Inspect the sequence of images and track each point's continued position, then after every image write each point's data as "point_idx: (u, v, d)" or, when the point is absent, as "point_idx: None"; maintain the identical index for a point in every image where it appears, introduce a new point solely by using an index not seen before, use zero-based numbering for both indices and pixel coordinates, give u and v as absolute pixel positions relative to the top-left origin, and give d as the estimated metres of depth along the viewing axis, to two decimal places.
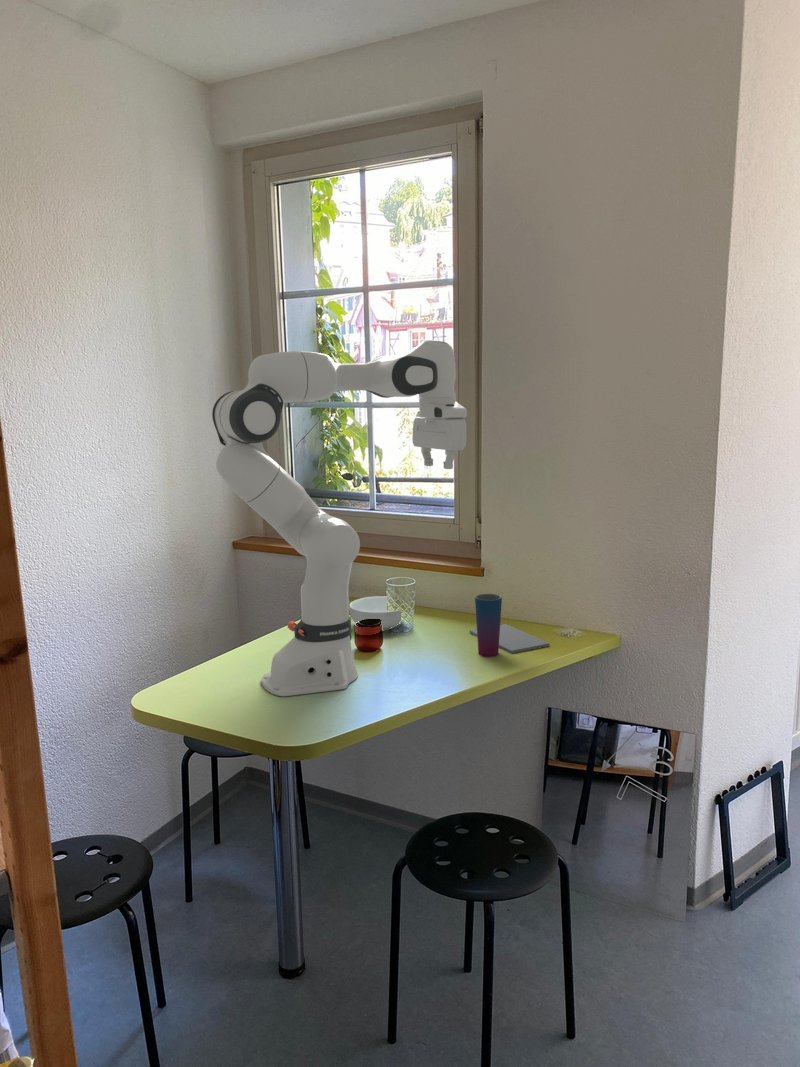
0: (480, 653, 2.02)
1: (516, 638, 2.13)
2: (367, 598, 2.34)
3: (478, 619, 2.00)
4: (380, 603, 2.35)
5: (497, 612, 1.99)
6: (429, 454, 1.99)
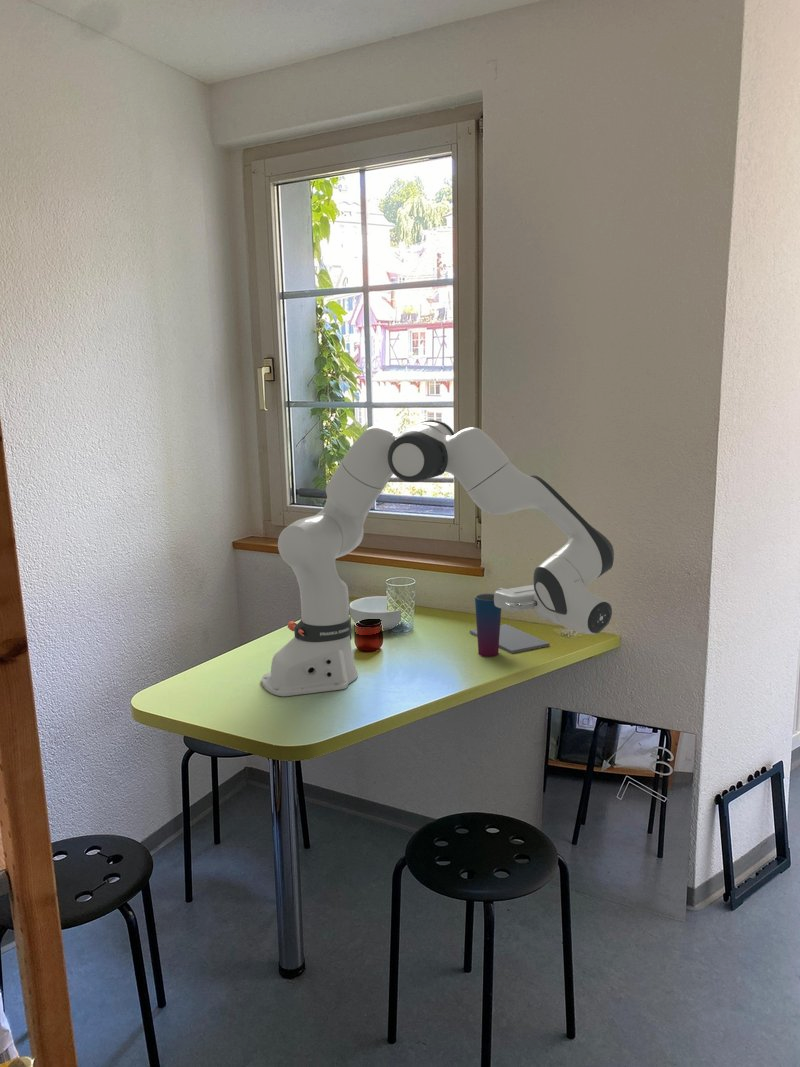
0: (480, 653, 2.02)
1: (516, 638, 2.13)
2: (367, 598, 2.34)
3: (478, 619, 2.00)
4: (380, 603, 2.35)
5: (497, 612, 1.99)
6: None
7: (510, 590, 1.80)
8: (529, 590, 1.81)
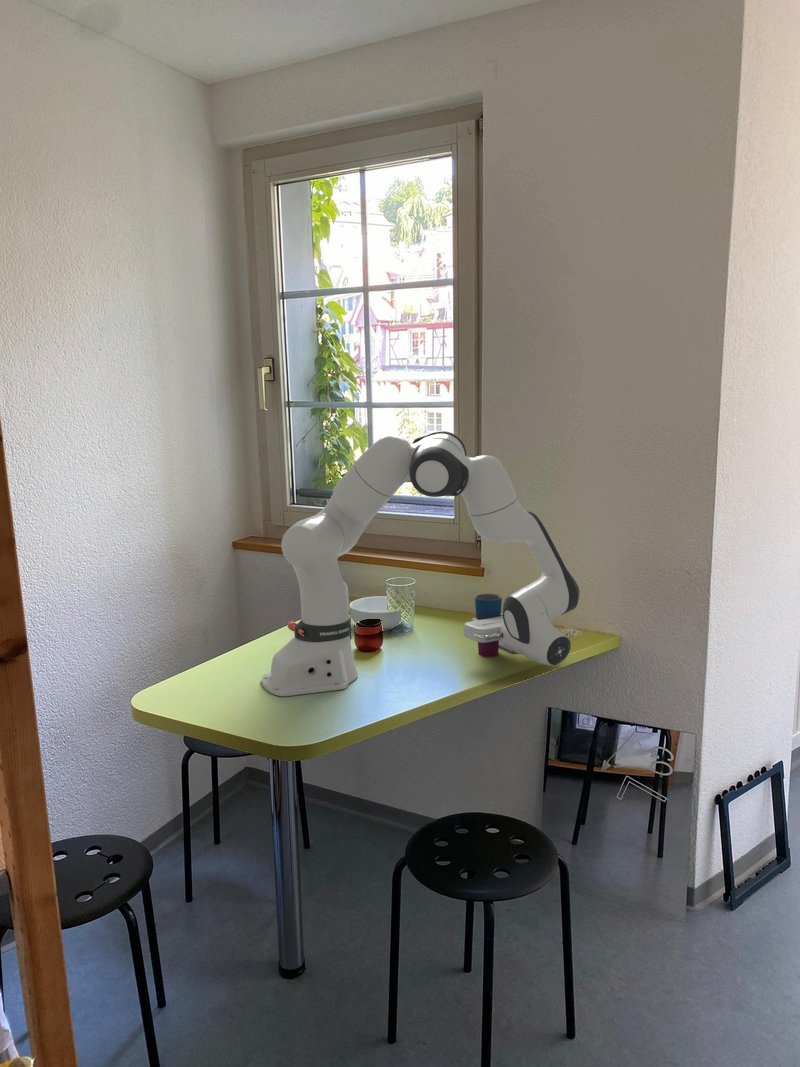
0: (480, 653, 2.02)
1: None
2: (367, 598, 2.34)
3: None
4: (380, 603, 2.35)
5: (497, 612, 1.99)
6: None
7: (479, 622, 1.94)
8: (496, 622, 1.94)
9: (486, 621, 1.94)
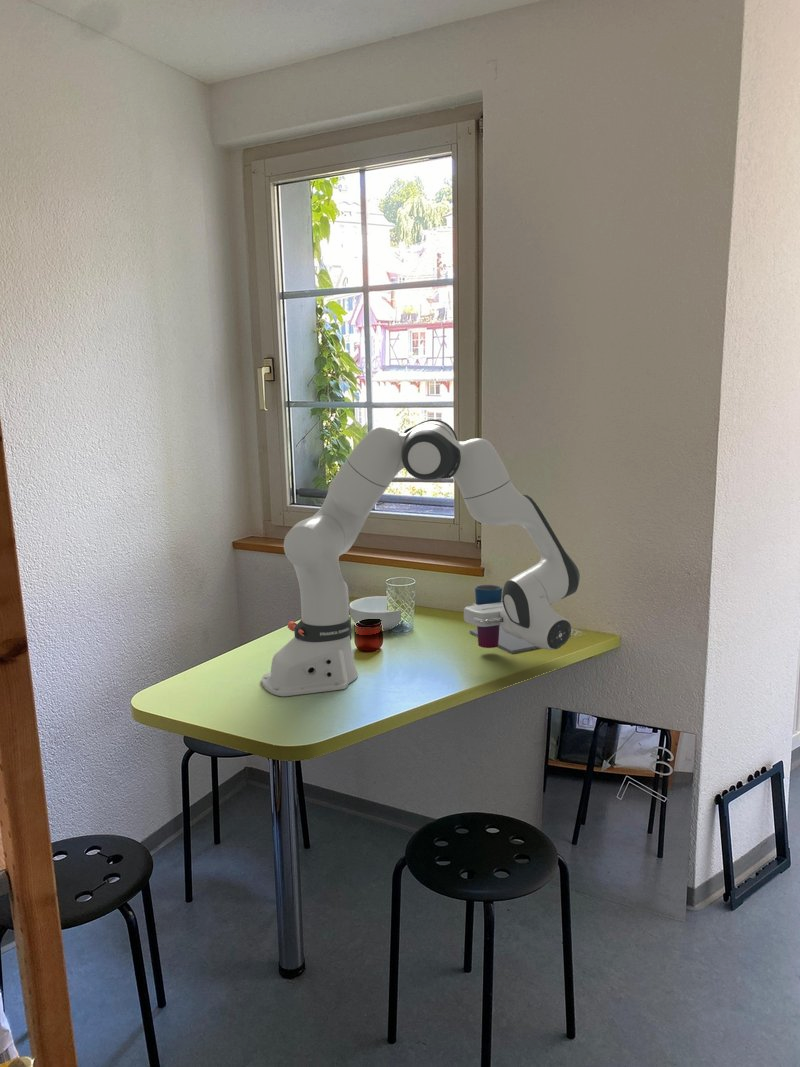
0: (480, 644, 2.01)
1: (516, 638, 2.13)
2: (367, 598, 2.34)
3: None
4: (380, 603, 2.35)
5: None
6: None
7: (479, 606, 1.92)
8: (497, 607, 1.93)
9: (486, 606, 1.93)
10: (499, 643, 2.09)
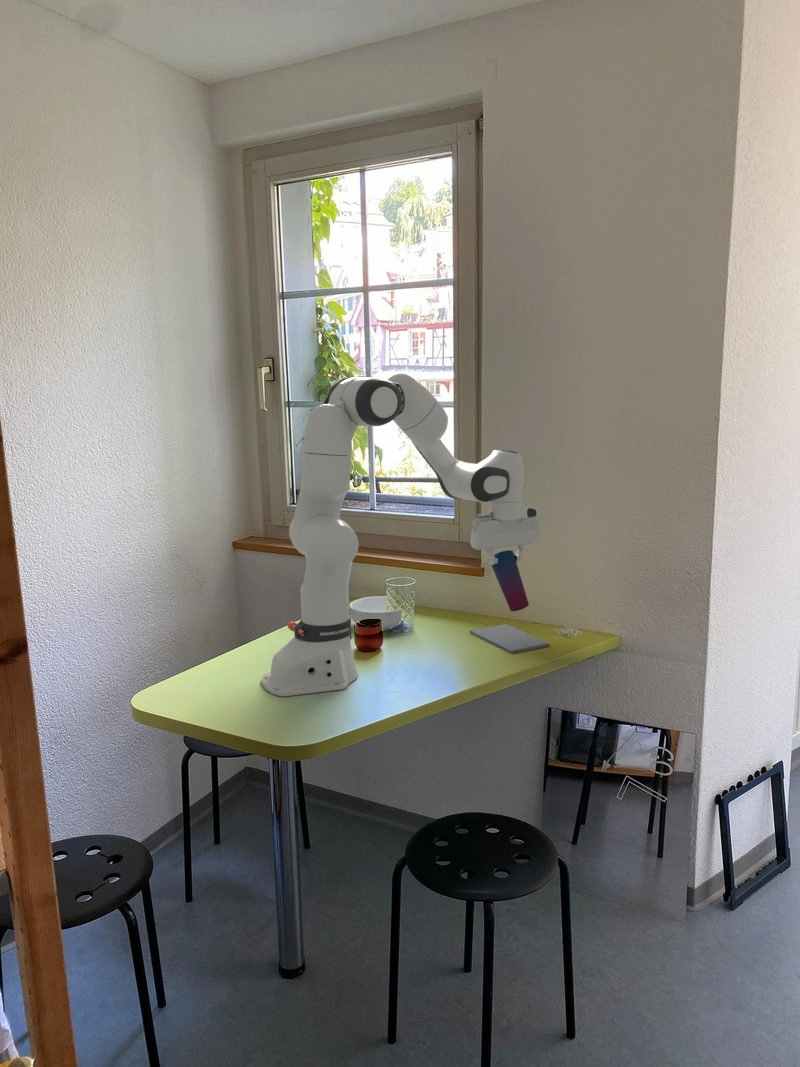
0: (511, 606, 2.07)
1: (516, 638, 2.13)
2: (367, 598, 2.34)
3: (498, 575, 2.10)
4: (380, 603, 2.35)
5: (512, 562, 2.10)
6: None
7: None
8: None
9: None
10: (499, 643, 2.09)
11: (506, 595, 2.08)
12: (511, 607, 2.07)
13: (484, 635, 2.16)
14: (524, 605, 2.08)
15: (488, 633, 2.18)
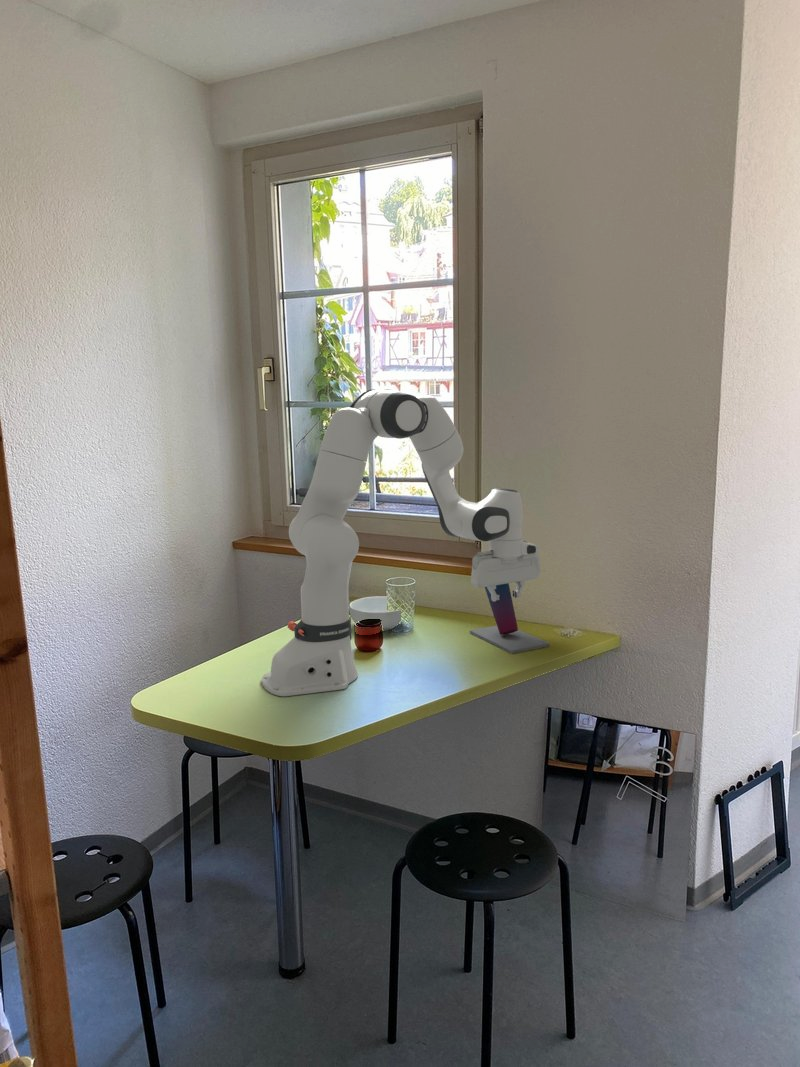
0: (500, 631, 2.13)
1: (516, 638, 2.13)
2: (367, 598, 2.34)
3: (490, 599, 2.16)
4: (380, 603, 2.35)
5: (505, 588, 2.15)
6: None
7: None
8: None
9: None
10: (499, 643, 2.09)
11: (497, 619, 2.14)
12: (501, 631, 2.13)
13: (484, 635, 2.16)
14: (513, 630, 2.14)
15: (488, 633, 2.18)
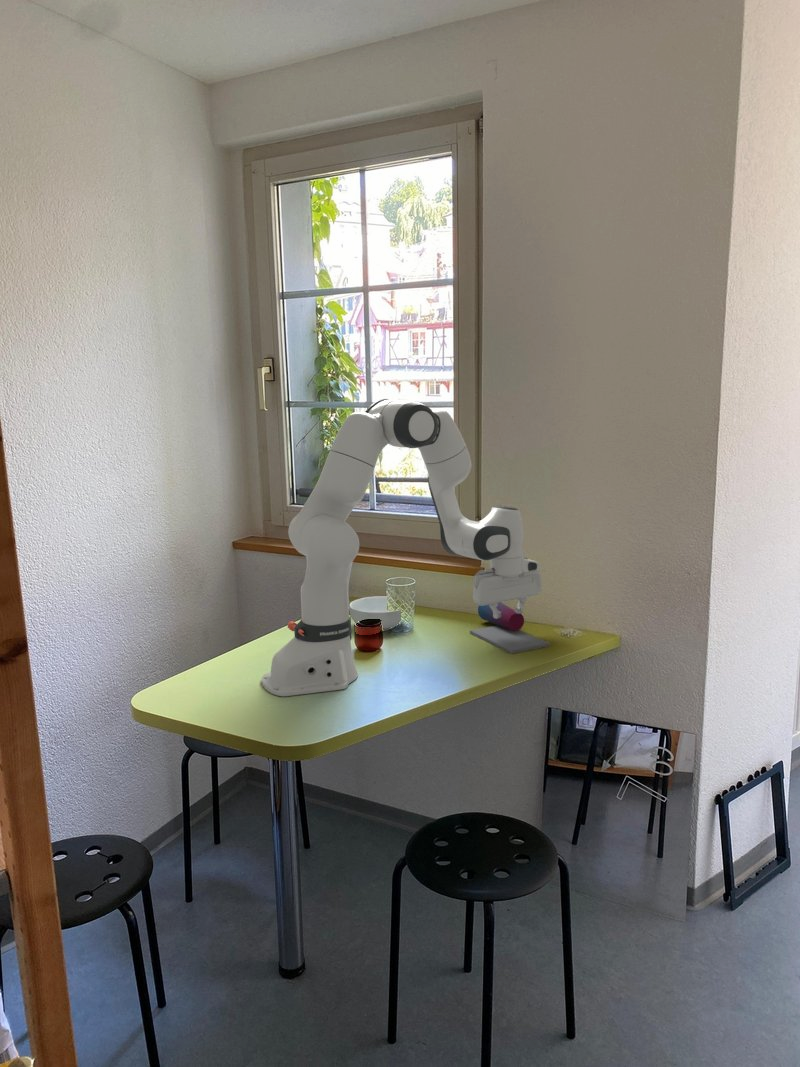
0: (511, 614, 2.17)
1: (516, 638, 2.13)
2: (367, 598, 2.34)
3: None
4: (380, 603, 2.35)
5: None
6: None
7: None
8: None
9: None
10: (499, 643, 2.09)
11: (505, 610, 2.20)
12: (512, 614, 2.17)
13: (484, 635, 2.16)
14: (520, 623, 2.18)
15: (488, 633, 2.18)
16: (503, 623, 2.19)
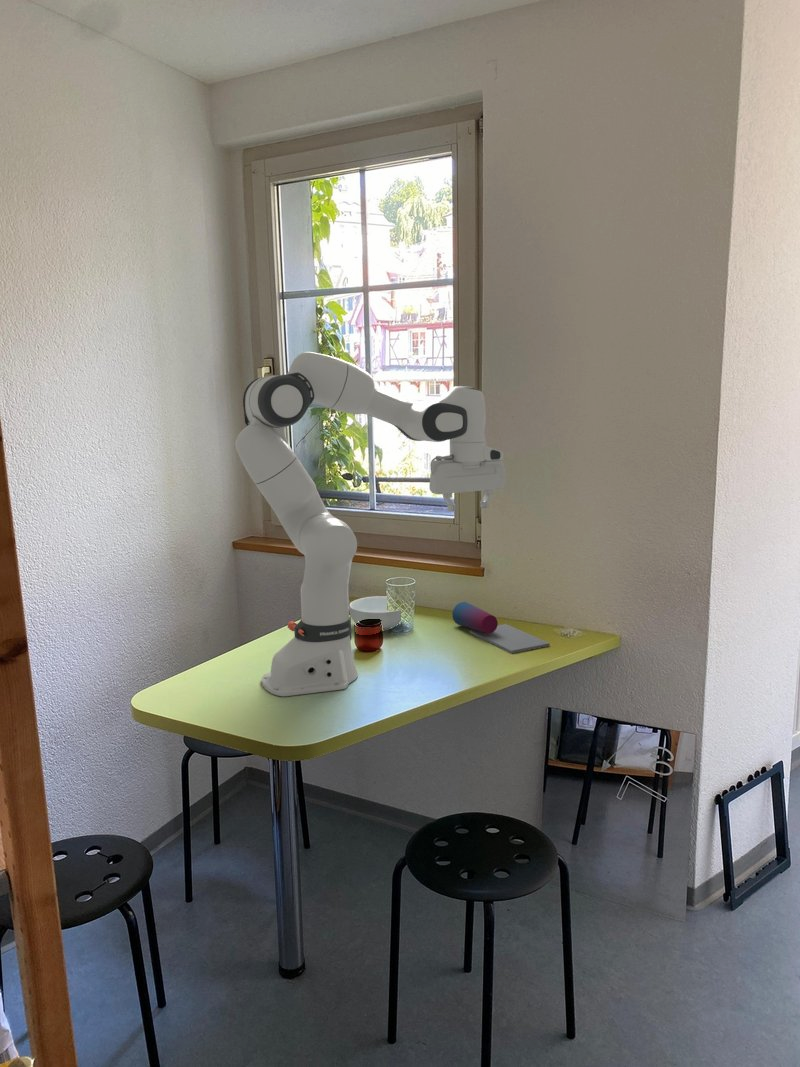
0: None
1: (516, 638, 2.13)
2: (367, 598, 2.34)
3: None
4: (380, 603, 2.35)
5: (458, 617, 2.23)
6: None
7: None
8: None
9: None
10: (499, 643, 2.09)
11: None
12: None
13: (484, 635, 2.16)
14: (486, 621, 2.14)
15: (488, 633, 2.18)
16: None
